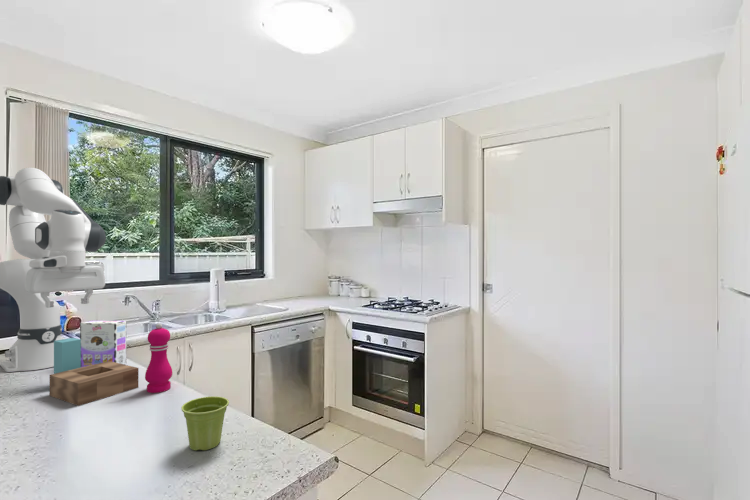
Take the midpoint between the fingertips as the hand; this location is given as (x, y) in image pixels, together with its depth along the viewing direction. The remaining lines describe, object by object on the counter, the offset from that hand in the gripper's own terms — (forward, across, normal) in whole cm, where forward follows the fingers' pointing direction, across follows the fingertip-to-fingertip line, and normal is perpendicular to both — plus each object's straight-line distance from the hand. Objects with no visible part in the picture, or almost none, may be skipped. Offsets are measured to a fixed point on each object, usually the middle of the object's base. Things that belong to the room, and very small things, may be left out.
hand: (67, 305), depth 121 cm
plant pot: (+25, +5, +70) cm, 75 cm away
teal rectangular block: (+25, 0, 0) cm, 25 cm away
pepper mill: (+25, -11, +29) cm, 40 cm away
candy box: (+25, -16, -11) cm, 32 cm away
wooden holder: (+25, -1, +14) cm, 29 cm away
